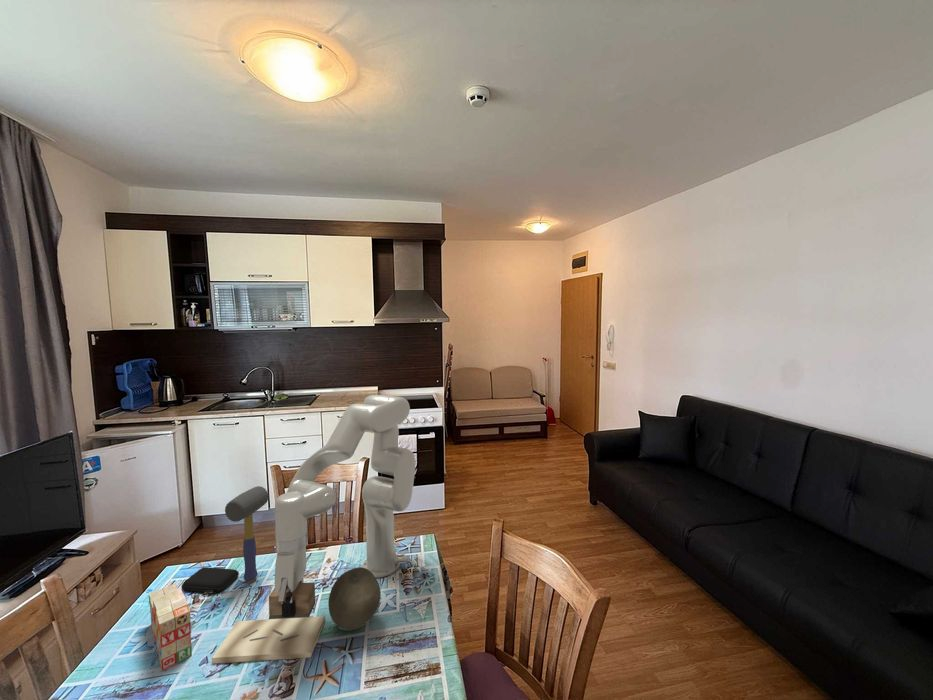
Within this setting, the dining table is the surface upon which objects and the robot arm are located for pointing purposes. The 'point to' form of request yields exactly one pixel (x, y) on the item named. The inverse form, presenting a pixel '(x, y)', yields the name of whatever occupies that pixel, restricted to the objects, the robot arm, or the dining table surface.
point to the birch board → (270, 640)
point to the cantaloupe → (354, 598)
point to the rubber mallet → (247, 524)
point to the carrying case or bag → (210, 580)
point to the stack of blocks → (171, 625)
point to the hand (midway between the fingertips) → (293, 607)
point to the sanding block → (303, 601)
